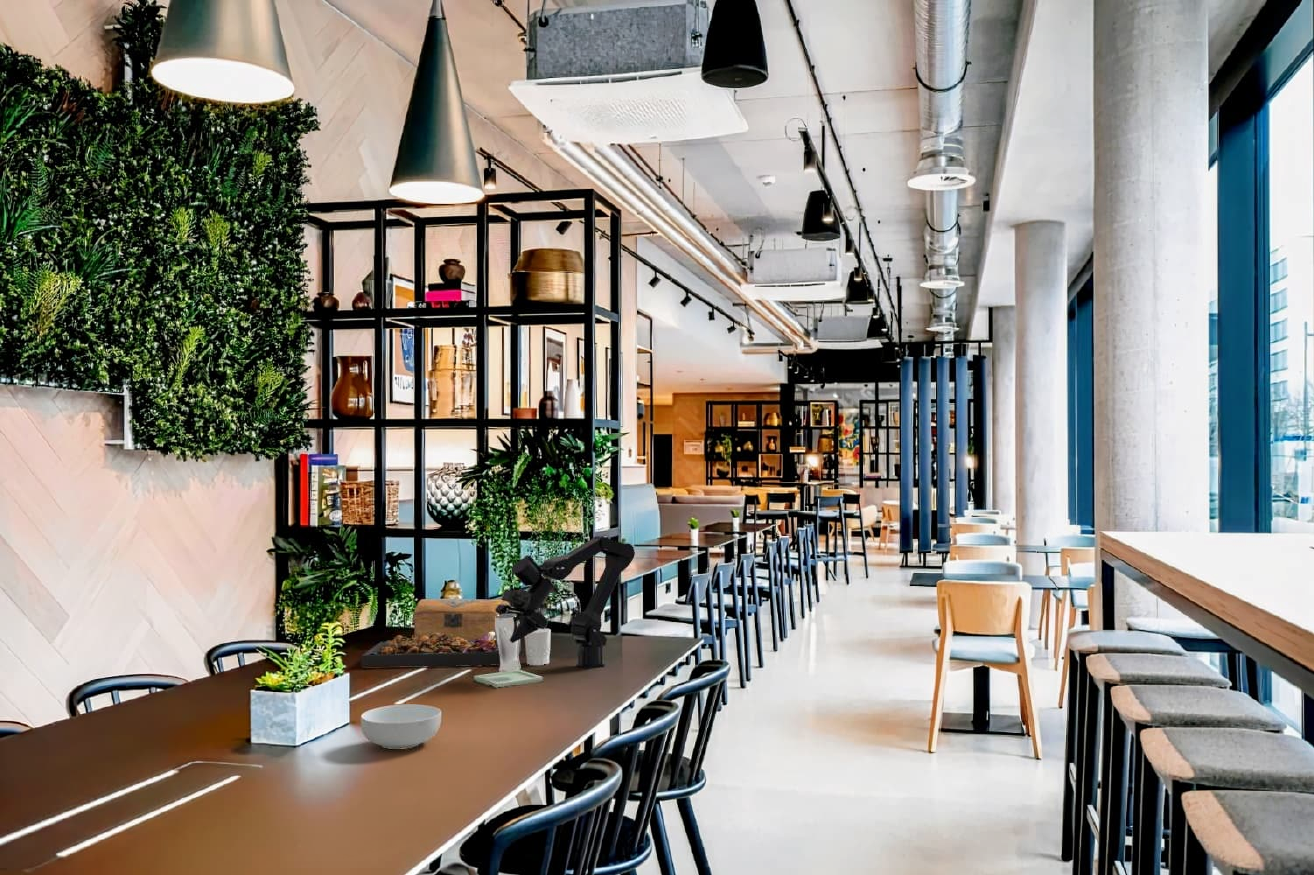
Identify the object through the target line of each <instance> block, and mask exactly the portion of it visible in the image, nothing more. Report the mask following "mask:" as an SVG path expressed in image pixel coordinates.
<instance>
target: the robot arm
mask: <svg viewBox="0 0 1314 875" xmlns="http://www.w3.org/2000/svg"><path fill="white" fill-rule="evenodd" d="M599 553H601V554H603V555H605V556H604V564H605V566H604V570H603V572H602V574H601V576H600V578H599V580H598V582H597V585H596V587H595V589H594V591H593V593H592V596H591V597H590V599H589V602H588V603H587V606H586V608H585V609H584V610H583V611H577V612H576V613H575V614H574V618H573V620H572V621H571V622H570V624H571V627H570V633H571V635H572V637H573V639H574V642H575V645H578V650H577V663H576V666H577V665H578V667H581V668H584V669H592V668H599V666H600V667H605V666H604V665H606V663H603V647H604V646H606V644H607V640H608V637H607V636H605V635H604V633H602V632H601V629H602V625H603V624H602V615H603V612H604V610H605V607H606V606H607V604H608V601H609V599H610V597H611V594H612V592H613V591H614V588H615V586H616V583H617V582H618V579H619V577H620V575H621V573H623V571H625V570H626V569H627V568H629V566H630V564H632V562H633V560H634V558H635V556H636V552H635V548H634V546H633V545H632V544H631V543H628V542H620V541H618V540H615V539H612V538H610V537H608V536H605V535H595V536H593V537H592V539H590V540H588V541H586V542H585V543H583V544H582V545H579V546H578V547H576V548H574V549H572V550H571V551H569V552H567V553H566V554H563V555H559V556H555V557H551V558H548V559H546V560H544V561H543V562H542V564H538V563H537V562H536V561H535V559H533V557H532V556H531V555H525V556H524V558H521V559H519V560H518V561H517V562H516V563H514V564H513V566H512V568H511V573H512V574H513V575H514V576H515V577H516V579H518V581H519V582H521V583H522V585H523V586H526V587H528V586H529V587H528V589H527V590H525V589H523V588H522V589H521V588H519V589H517V590H514V589H509V588H508V589H507V588H506V589H504V591H503V593H502V597H501V599H500V600H503V601H507V602H508V603H509V605H510V604H511V605H510V606H509V605H505V604H500V605H498V606H497V608H496V609H495V611H496V612H497V613H498V614H499V615H502V614H518V617H519V625H518V627H517V629H516V630H515V632H514V634H513V635H512V637H511V639H510V641H511V642H512V643H514V642H516V641H517V640H519V639H521V640H522V638H525V636H526V635H528V634H530V633H532V632H534V631H537V630H538V628H539V629H545V628H547V626H548V624H549V623H548V621H549V619H548V618H547V617H546V616H545V615H544V614H543V613H542V612H541V611H540V609H542V610H543V609H544V608H545V605H544V603H545V601H546V600H547V598H549V595H550V594H556V595H558V594H559V593H560V591H559V590H560V589H559V588H558V587H559V585H558V583H553V582H552V581H551V580H553V581H564V580H565V579H566V578H567V577H569V576H570V575H571V574H572V572H573V571H574V569H575V568H576V567H578V566H579V565H580V564H582V563H584V562H585V561H587V560H589V559H590V558H593V557H595V556H596V555H597V554H599Z"/></svg>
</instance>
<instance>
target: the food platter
mask: <svg viewBox="0 0 1314 875" xmlns="http://www.w3.org/2000/svg"><path fill="white" fill-rule="evenodd" d="M521 640H522V638H521V639H520V643H519V654H520V653H521V652H522V648H521V647H522V644H521V643H522V641H521ZM520 651H521V652H520ZM499 662H500V657H499V651H498V647H497V643H496V638H495V632H489V633H488V634H487V635H486V636H484V637H482V639H476V640H467V639H463V638H460V637H455V638H452V635H451V634H447V633H443V634H441V633H439V632H435V633H432V634H431V636H426V635H423V636H422V637H420V636H419V637H415V636H414V635H413V634H412V635H411V637H410V638H408V637H406V636H403V635H400V634H399V635H396V636H395V637H394V638H393V639H392V640H390V639H387V640H386V641H380V642H378V643H377V644H376V645H374V646H373V647H372V648H370V649H368V650H367V651H366V652H365V653H363V654H361V656H360V667H361V666H362V667H391V666H393V667H394V666H396V667H397V666H398V667H399V666H456V665H457V666H458V665H459V666H460V665H491V664H496V665H497V664H499Z"/></svg>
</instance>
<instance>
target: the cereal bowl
mask: <svg viewBox="0 0 1314 875" xmlns="http://www.w3.org/2000/svg"><path fill="white" fill-rule="evenodd" d="M441 722H442V711H441V709H440V708H438V707H435V706H431V705H426V704H412V703H411V704H406V703H405V704H394V705H393V704H391V705H385V706H379V707H377V708H372V709H369V710H366V711H365V712H363V713H362V714H361V715H360V727H361V732H362V734H363V735H364V737H365V738H366V739H367V740H368V741H369V742H371V743H373V744H376V745H379V746H382V748H383V749H385V748H391V749H401V748H411V749H413V748H412V747H415V746H417V747H419V746H420V745H421V744H423V743H425V742H426V741H429V740H430V739H432V738H433V737H434V736H435V735H436V734H437V733H438V731H439V730H440V727H441ZM420 743H421V744H420ZM419 744H420V745H419ZM418 745H419V746H418ZM415 748H416V747H415Z"/></svg>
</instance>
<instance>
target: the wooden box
mask: <svg viewBox="0 0 1314 875" xmlns="http://www.w3.org/2000/svg"><path fill="white" fill-rule="evenodd" d="M500 604H505V605H509V606H510V607H511V605H510V603H509V602H507V601H503V600H501V599H486V598H485V599H482V598H481V599H477V598H474V599H473V598H431V599H430V598H429V599H427V598H426V599H424V598H422V599H420V600H419V601H418V603H417V605H416V607H415V609H414V612H413V628H414V629H413V630H414V636H415V637H419V636H420V637H422V636H423V635H426V636H431V634H432V633H435V632H439V633H441V634H443V633H447V634H451V635H452V638H455V637H460V638H463V639H467V640H476V639H482V637H484V636H486V635H487V634H488V633H489V632H495V616H497V615H499V614H498V613H497V612H496V611H495V609H496V608H497V606H498V605H500Z"/></svg>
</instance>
